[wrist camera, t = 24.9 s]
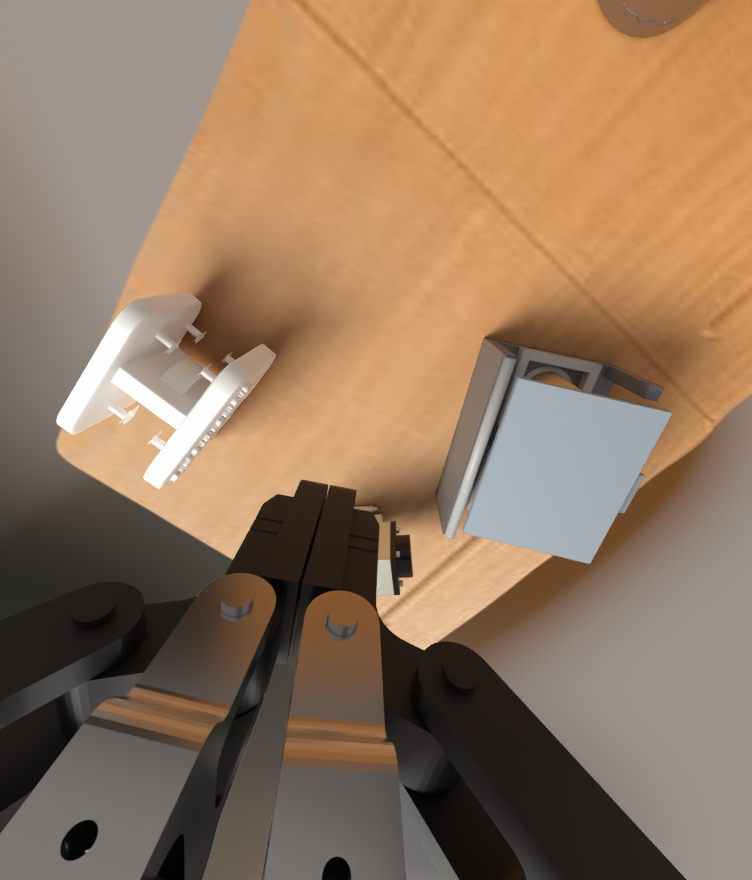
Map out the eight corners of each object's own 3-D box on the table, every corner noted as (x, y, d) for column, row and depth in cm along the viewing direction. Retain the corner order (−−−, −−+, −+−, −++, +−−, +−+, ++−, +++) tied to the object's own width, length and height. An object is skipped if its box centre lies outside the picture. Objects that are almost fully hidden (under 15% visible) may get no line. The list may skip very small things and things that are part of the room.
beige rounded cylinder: (576, 379, 40) (604, 399, 34) (553, 419, 42) (576, 443, 36) (534, 365, 39) (556, 382, 34) (513, 406, 41) (531, 428, 36)
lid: (515, 374, 34) (518, 378, 32) (672, 410, 33) (682, 415, 32) (462, 524, 40) (463, 532, 39) (592, 556, 40) (597, 565, 38)
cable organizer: (200, 281, 39) (128, 288, 28) (286, 354, 41) (249, 385, 31) (129, 389, 44) (45, 429, 33) (210, 447, 46) (156, 503, 36)
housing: (483, 337, 40) (505, 355, 32) (615, 365, 40) (668, 390, 33) (435, 494, 47) (443, 539, 40) (546, 515, 48) (576, 564, 40)
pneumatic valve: (313, 503, 49) (289, 573, 38) (407, 497, 48) (411, 566, 37) (320, 539, 51) (300, 614, 40) (410, 533, 50) (415, 609, 39)
